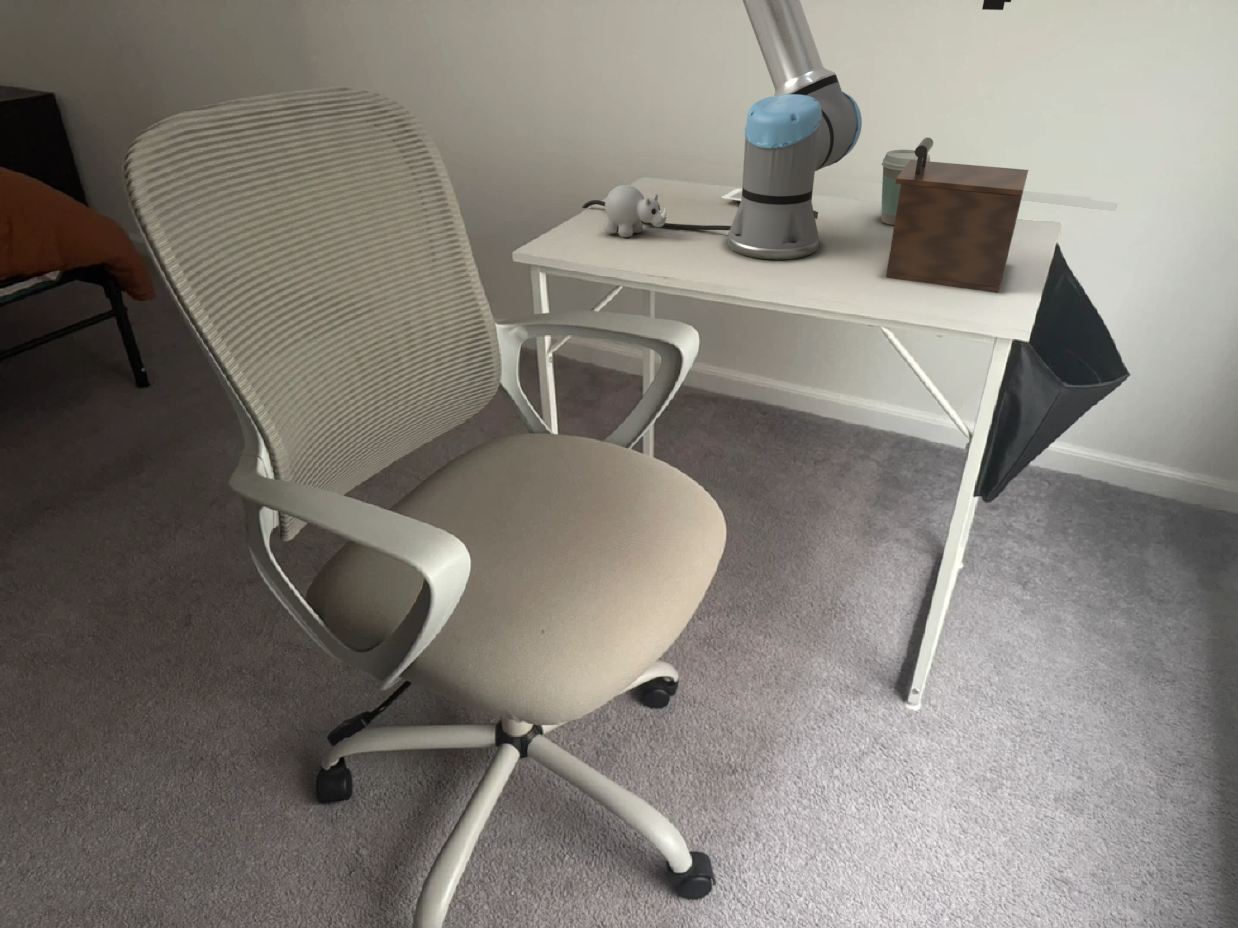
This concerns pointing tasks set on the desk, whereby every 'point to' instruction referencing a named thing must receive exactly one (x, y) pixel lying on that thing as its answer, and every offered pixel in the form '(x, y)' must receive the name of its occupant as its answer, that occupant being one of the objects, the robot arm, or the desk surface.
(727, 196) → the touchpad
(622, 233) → the toy rhinoceros
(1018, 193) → the box lid
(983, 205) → the storage box
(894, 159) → the coffee cup
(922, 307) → the desk surface
